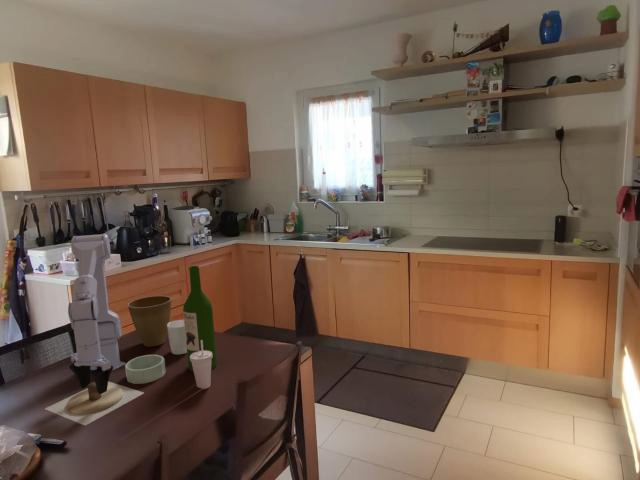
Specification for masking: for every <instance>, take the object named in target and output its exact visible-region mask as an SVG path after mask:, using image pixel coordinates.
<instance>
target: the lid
mask: <svg viewBox="0 0 640 480" xmlns="http://www.w3.org/2000/svg"><path fill="white" fill-rule="evenodd" d="M86 388H88V390H85V389H84V390H85V391H83V390H82V391H83V392H81V391H79V392H80V393H79V392H77V393H78V394H77V393H76V394H77V395H75V396H73V397H72V398H71V399H70V400H69V401H68V402H67V405H66V406H67V410H68V411H69V412H70V413H72V414H79V415H82V414H91V413H96V412H99V411H102V410H105V409H107V408H110V407H112V406H113V405H115V404H117V403H118V402H119V401H120V400H121V399H122V397H123V391H122V389H121V388H119V387H116V386H108V387H107V391H106V392H104V393H102V394H99V393H98V391H97V387H96V383H95V381H93V382H90V384H88V385H87V387H86Z"/></svg>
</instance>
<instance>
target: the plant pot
mask: <svg viewBox="0 0 640 480" xmlns="http://www.w3.org/2000/svg"><path fill="white" fill-rule="evenodd" d="M127 308H128V311H129V315H130V317H131V320H132V324H133V326H134V329H135V330H136V334H137V335H138V337H139V339H140V341H141V342H142V344H143V346H145V347H148V348H149V347H151V348H152V347H157V346H161V345H162V344H163V345H164V343H165V342H166V340H167V337H168V330H167V324H168V323H170V322H171V313H172V297H171V296H168V295H151V296H145V297H141V298H137V299H134V300H132V301H130V302H128V303H127Z"/></svg>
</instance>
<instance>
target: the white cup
mask: <svg viewBox="0 0 640 480" xmlns="http://www.w3.org/2000/svg"><path fill="white" fill-rule="evenodd" d="M167 330H168V332H167V337H168V341H169V346H170V353H171V354H173V355H183V354H187V345H186V335H185V325H184V319H178V320H177V319H176V320H173V321H170V322H169V323H168V324H167Z"/></svg>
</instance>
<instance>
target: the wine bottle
mask: <svg viewBox="0 0 640 480" xmlns="http://www.w3.org/2000/svg"><path fill="white" fill-rule="evenodd" d="M188 270H189V271H188V272H189V282H190V283H189V284H190V292H189V294H188V296H187V298H186V300H185V302H184V304H183V310H182V312H183V313H182V314H183V320H184V325H185V335H186V345H187V353H186V354H187V356H186V357H187V364H188V369H189V371H191V372H194V371H193V366H192V362H191V361H190V355H191V354H192V353H194V352H197V351H201V340H203V351H210V352H212V356H213V357H212V358H211V370H213V369H215V368H216V367H217V365H218V359H217V358H218V357H217V356H218V355H217V347H216V346H217V344H216V336H215V335H216V334H215V332H216V331H215V324H214V322H215V321H214V313H213V312H214V311H213V305H212V301H211V300H210V299H209V298H208V297H207V295H206V294H205V293H204V291H203V290H202V285H201V284H202V283H201V275H200V266H198V265H193V266H190V267H189V268H188Z"/></svg>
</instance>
